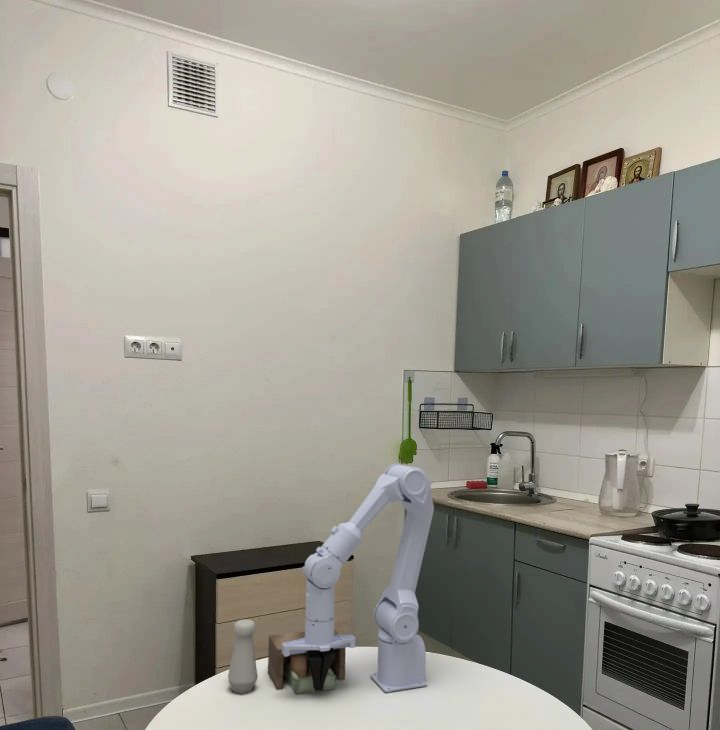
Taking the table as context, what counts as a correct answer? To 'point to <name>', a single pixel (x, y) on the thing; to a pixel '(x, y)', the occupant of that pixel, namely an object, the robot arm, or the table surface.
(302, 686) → the tray
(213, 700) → the table surface
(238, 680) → the salt shaker
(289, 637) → the shelf
